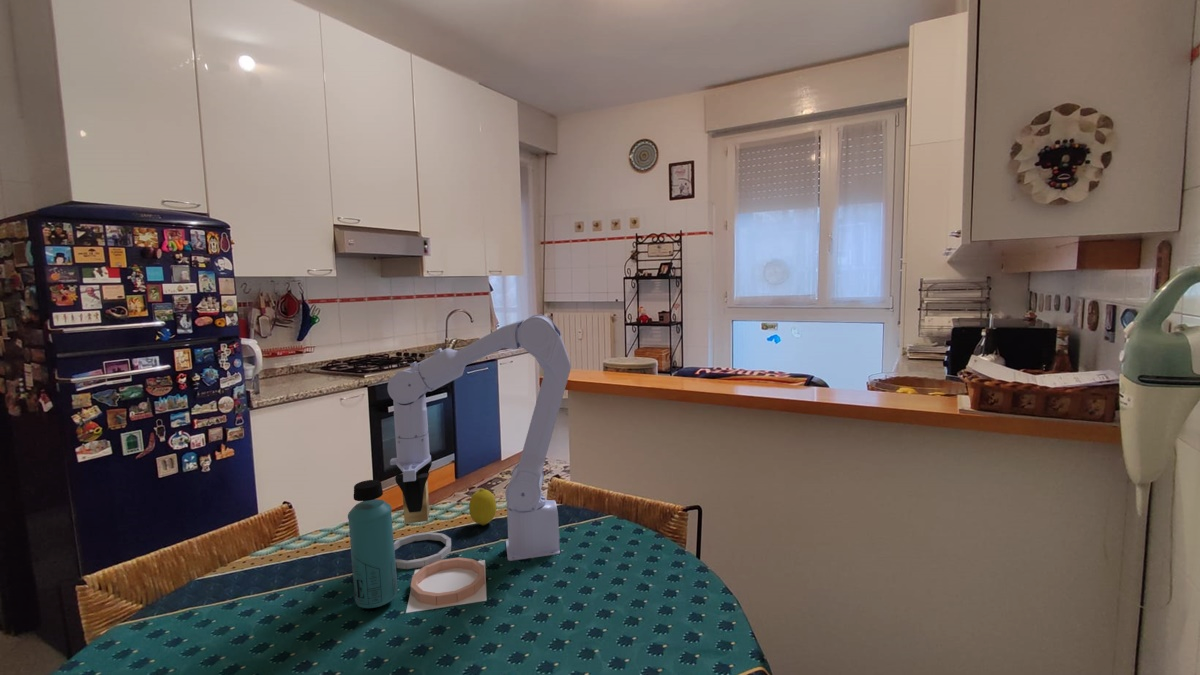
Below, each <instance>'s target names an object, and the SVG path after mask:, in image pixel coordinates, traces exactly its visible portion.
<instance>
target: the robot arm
mask: <svg viewBox="0 0 1200 675" xmlns="http://www.w3.org/2000/svg"><path fill="white" fill-rule="evenodd" d="M520 347H522V348H523V350H525V351H526V352H527V353H529V355H530V356H532V357H534V358H535V359H536V361H537V363H538V364H539V366H540V367H541V369H542V371H543V376H542V381H541V383H540V387H539V391H538V394H537V398H536V401H535V404H534V410H533V412H532V416H531V420H530V423H529V428H528V431H527V434H526V438H525V441H524V444H523V448H522V452H521V455H520V459H519V462H518V463H517V464H516V466H514V467H513V469H512V471H511V474H510V480H509V481H508V484H507V486H506V489H505V491H504V492H505V495H504V496H505V499H506V513H507V514H506V517H507V519H506V520H507V537H508V539H506V540H505V546H506V547H505V548H506V554H507V555H506V557H507V561H508V562H511V561H512V562H513V561H519V560H526V559H531V558H539V557H540V558H541V557H548V556H554V555H560V554H561V551H560V529H559V513H558V507H557V506H558V505H557V502H556V500H554V499H547V498H546V496H544V494H543V492H542V486H543V482H544V477H545V476H544V475H545V474H544V470H543V469H544V465H545V462H546V457H547V454H548V450H549V448H550V444H551V439H552V438H553V433H554V430H555V426H556V422H557V419H558V415H559V412H560V409H561V404H562V401H563V397H564V395H565V391H566V386H567V384H568V380H569V376H570V372H571V366H572V365H571V360H570V357H569V354H568V350H567V348H566V345H565V342H564V340H563V336H562V333H561V330H560V329H559V327H558V326H557V325H556V323H555V322H554V321H553V320H552V319H551V318H550V317H549V316H547V315H544V314H535V315H532V316H530V317H528V318H527V319H521V320H518V321H515V322H512V323H509V324H506V325H503V326H501V327H499V328H498V329H496V330H493V331H492V332H490V333H489V334H487V335H485V336H483V337H481V338H479V339H477V340H476V341H473V342H471V343H470V344H468V345H466V346H464V347H462V348H461V349H459V350H456V349H453V348H449V347H446V348H444V349H443V348H441V347H439V348H437V349H435V350H433V352H432V353H433V355H430V356H429V357H427V358H425V359H423V360H421V361H419V362H417V361H414V362H412V363H410V364H409V368H406V369H404V370H400V371H397V372H396V373H395V374H394V375H392V376H391V378H390V379H389V380H388V383H387V393H388V395H389V397H390V398H391V399H392V400H393V401H392V402H393V419H394V422H393V423H394V435H395V449H396V452H395V453H396V457H393V458H391V459H390V460H389V465H390V466H397V467H398V469H400V471H401V473H397V474H396V475H395V477H394V479H395V483H396V485H397V486H398V487H399V488H400V490H401V492H402V496H403V495H404V498H405V501H406V505H407V508H408V511H409V512H410V513H411V512H419V511H421V509H422V504H423V494H424V487H425V483H426V481H427V479H429V475H430V473H429V472H430V470H431V467H432V464H433V461H432V455H431V454H430V437H429V436H430V435H429V425H428V424H429V422H428V406H427V397H426V394H427V393H428V392H433V391H435V390H437V389H439V388H441V387H443V386H445V385H447V384H449V383H451V382H453V381H455V380H457V379H459V378H460V377H462V376H463V374H464V371H465V369H466V366H467V365H470V364H472V363H474V362H477V361H478V360H481V359H482V358H485V357H487V356H489V355H491V354H493V353H496V352H497V351H500V350H502V349H510V350H518V349H519V348H520Z"/></svg>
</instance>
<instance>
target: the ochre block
mask: <svg viewBox="0 0 1200 675" xmlns="http://www.w3.org/2000/svg"><path fill="white" fill-rule="evenodd" d="M428 479H429V478H428ZM428 479H427V481H426V483H425V487H424V494H423V504H422V509H421V511H419V512H411V513H410V512H409V511H408V508H407V505H406V501H405V498H404V495H403V494H402V505H403V507H402V508H403V519H404V520H403V521H404V524H405V525H406V524H413V523H415V524H416V523H424V522H428V521H429V516H430V498H429V483H428Z"/></svg>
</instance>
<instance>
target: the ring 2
mask: <svg viewBox="0 0 1200 675" xmlns="http://www.w3.org/2000/svg"><path fill="white" fill-rule="evenodd" d="M478 561H479V560H476V559H472V558H466V557H453V558H452V557H451V558H443V559H442V560H439V561H437V562H434V563H432V564H429V565H426V566H424V567H421V568H419V569H420V570H419V571H418V572H417V573H416V574H414V573H413V575H412V577H411V582H410V591H411V595H412V596H413V597H414V598H415V599H416V600H417V601H418V602H420V603H425V604H431V605H443V604H450V603H456V602H459V601H461V600H464V599H466V598H468V597H470V596H472V595H474V594H476V593H477V592H478V591H479V589H480V588H481V587H482V586H483V585H484V584H485V577H484V566H483V565H482V564H481V563H479V562H478ZM454 568H462V569H469V570H473V571H474V572H475V573H477V574H478V575H479V576H478V577H477V578H476V579H475V580H474V581H473V582H472V583H471V584H469V585H467V586H465V587H463V588H460V589H458V590H456V591H450V592H443V593H433V592H427V591H423V590H422V589H420V588H419V587H418V584H419V583H420V582H421V581H423V580H424V579H425V578H426V577H427V576H429V575H432V574H434V573H436V572H439V571H441V570H447V569H454Z"/></svg>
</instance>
